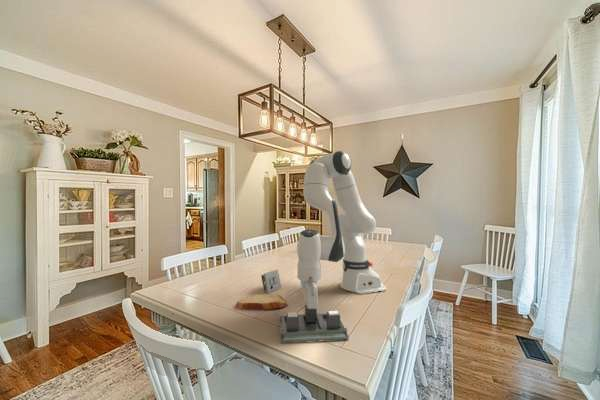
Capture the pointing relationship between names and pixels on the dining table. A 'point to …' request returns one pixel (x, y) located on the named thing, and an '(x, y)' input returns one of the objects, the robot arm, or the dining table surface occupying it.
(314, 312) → the breaker mid
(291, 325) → the breaker
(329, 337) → the panel
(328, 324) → the breaker
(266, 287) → the electrical switch
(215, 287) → the dining table surface
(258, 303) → the slice of bread
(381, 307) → the dining table surface
